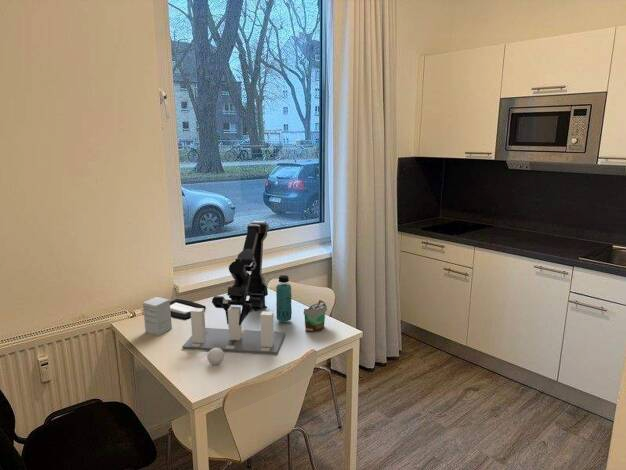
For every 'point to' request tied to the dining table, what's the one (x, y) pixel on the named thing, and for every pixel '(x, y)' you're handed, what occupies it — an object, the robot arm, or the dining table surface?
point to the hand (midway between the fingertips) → (233, 324)
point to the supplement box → (157, 315)
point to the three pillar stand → (248, 343)
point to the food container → (315, 317)
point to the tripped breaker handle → (234, 323)
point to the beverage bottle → (283, 299)
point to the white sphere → (215, 356)
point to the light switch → (183, 308)
